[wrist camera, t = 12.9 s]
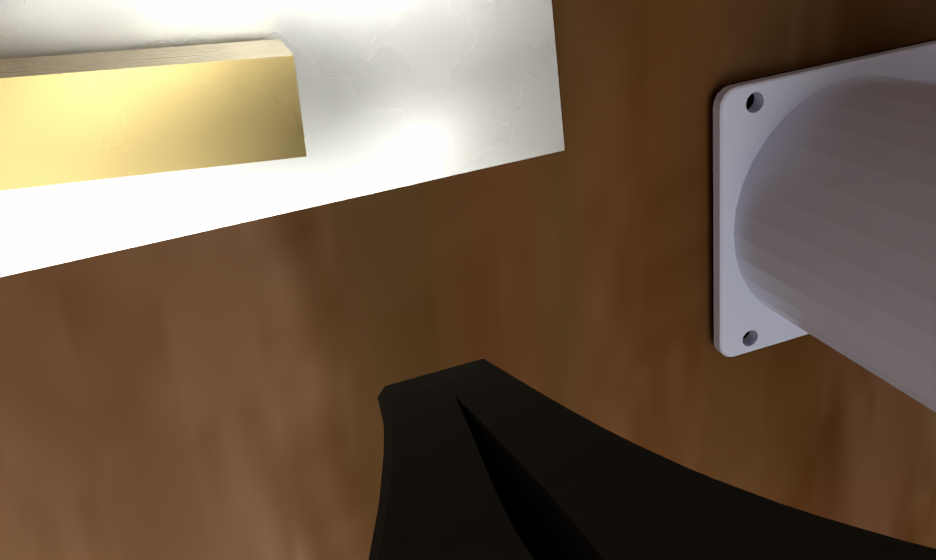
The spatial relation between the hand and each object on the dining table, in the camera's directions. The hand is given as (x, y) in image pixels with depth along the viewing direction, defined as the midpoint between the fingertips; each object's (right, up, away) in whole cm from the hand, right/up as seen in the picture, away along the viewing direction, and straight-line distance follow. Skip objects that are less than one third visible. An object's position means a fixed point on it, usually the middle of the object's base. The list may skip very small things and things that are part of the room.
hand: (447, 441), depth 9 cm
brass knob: (-7, +6, +5) cm, 11 cm away
